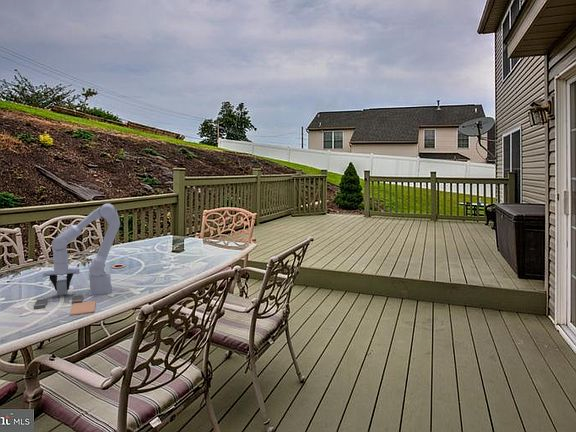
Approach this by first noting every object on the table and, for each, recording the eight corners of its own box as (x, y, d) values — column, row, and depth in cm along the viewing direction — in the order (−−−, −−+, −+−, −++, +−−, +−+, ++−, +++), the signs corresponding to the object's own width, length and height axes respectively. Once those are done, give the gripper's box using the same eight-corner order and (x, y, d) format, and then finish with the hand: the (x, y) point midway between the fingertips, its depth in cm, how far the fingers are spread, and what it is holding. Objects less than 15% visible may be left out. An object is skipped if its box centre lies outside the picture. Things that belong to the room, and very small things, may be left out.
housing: (83, 297, 167) (83, 294, 167) (82, 303, 160) (81, 299, 160) (37, 302, 159) (37, 299, 159) (33, 309, 152) (33, 305, 152)
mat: (95, 302, 162) (95, 300, 162) (94, 312, 150) (94, 311, 150) (72, 304, 158) (72, 303, 158) (69, 315, 147) (69, 314, 146)
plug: (69, 288, 176) (68, 276, 175) (67, 294, 168) (66, 281, 167) (59, 289, 174) (59, 277, 173) (57, 295, 166) (56, 282, 165)
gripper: (79, 258, 174) (80, 285, 175) (43, 261, 167) (45, 289, 169) (78, 262, 167) (79, 289, 169) (41, 264, 161) (43, 293, 163)
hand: (62, 289), depth 169 cm, fingers closed on plug, 4 cm apart
